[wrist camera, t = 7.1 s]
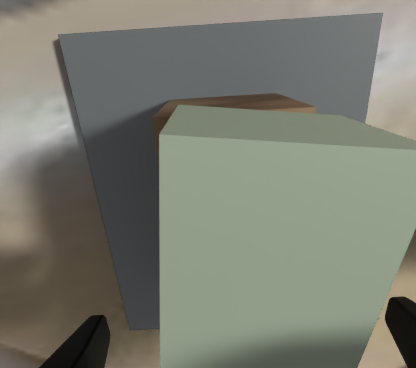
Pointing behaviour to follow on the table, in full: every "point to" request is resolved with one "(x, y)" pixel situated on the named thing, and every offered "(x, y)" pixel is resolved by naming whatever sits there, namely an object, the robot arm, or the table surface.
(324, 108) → the board
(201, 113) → the lintel
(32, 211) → the table surface
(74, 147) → the table surface
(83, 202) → the table surface
